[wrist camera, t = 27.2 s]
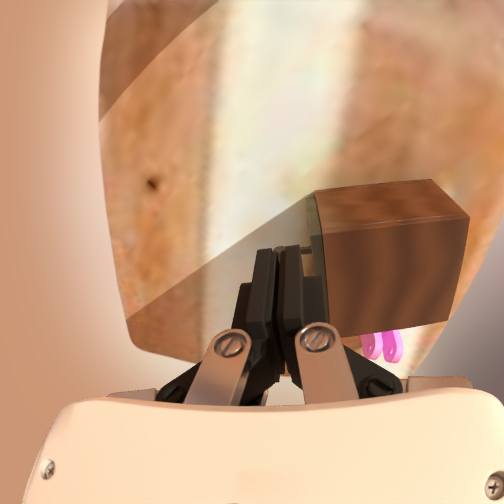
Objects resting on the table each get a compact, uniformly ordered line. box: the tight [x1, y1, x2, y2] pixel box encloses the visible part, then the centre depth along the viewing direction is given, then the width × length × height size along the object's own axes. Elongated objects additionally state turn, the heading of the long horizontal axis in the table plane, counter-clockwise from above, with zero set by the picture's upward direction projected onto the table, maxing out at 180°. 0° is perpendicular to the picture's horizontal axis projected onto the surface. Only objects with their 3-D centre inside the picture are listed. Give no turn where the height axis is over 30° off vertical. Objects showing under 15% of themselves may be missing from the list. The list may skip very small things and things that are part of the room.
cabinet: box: [314, 179, 470, 338], centre depth 34 cm, size 16×15×11 cm
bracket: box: [360, 330, 404, 363], centre depth 42 cm, size 13×6×7 cm, turn 165°
